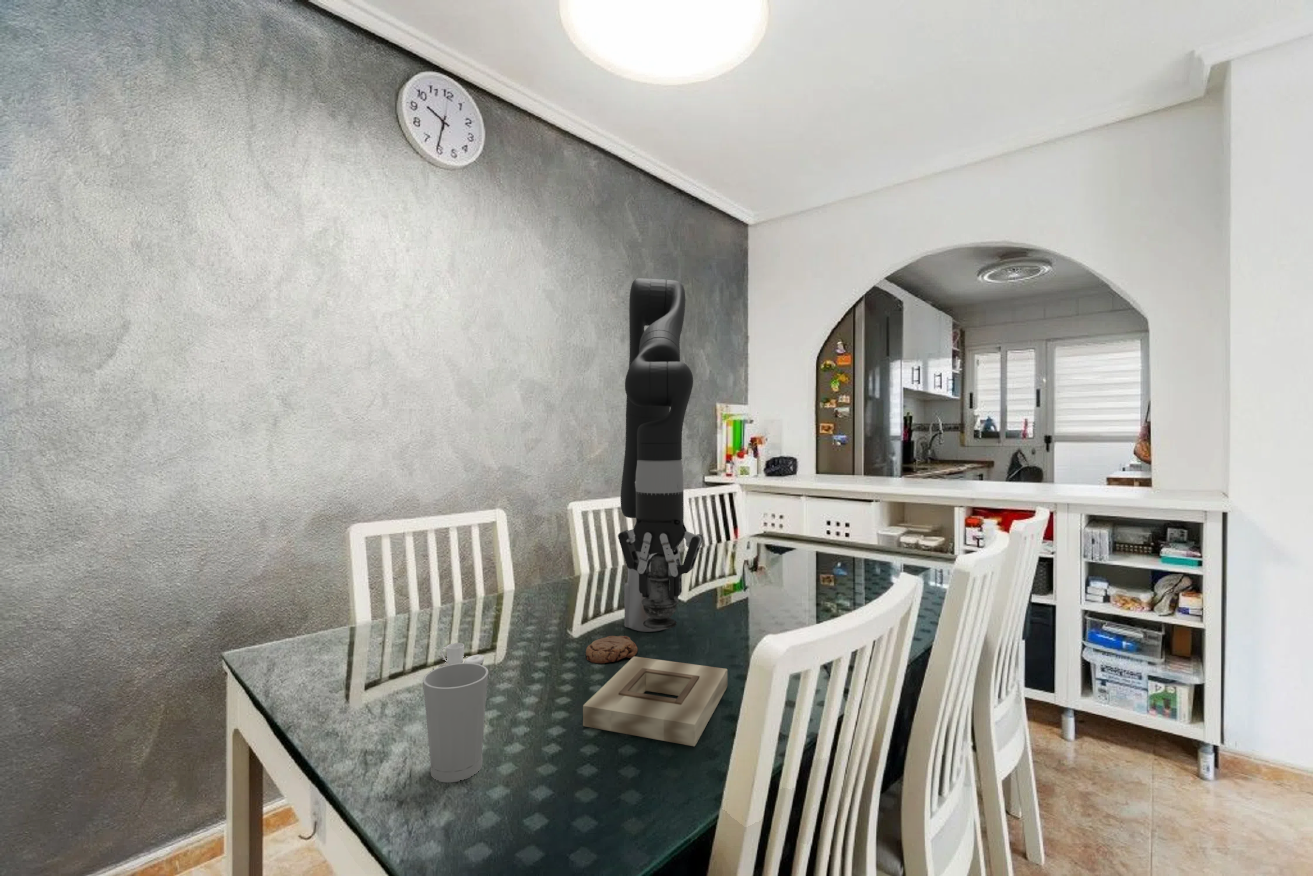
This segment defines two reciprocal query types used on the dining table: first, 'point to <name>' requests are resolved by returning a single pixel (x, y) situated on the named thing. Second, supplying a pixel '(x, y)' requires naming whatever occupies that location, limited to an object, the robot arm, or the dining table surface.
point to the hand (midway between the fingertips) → (660, 596)
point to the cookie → (611, 649)
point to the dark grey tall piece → (659, 596)
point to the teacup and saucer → (459, 655)
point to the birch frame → (657, 700)
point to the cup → (455, 719)
